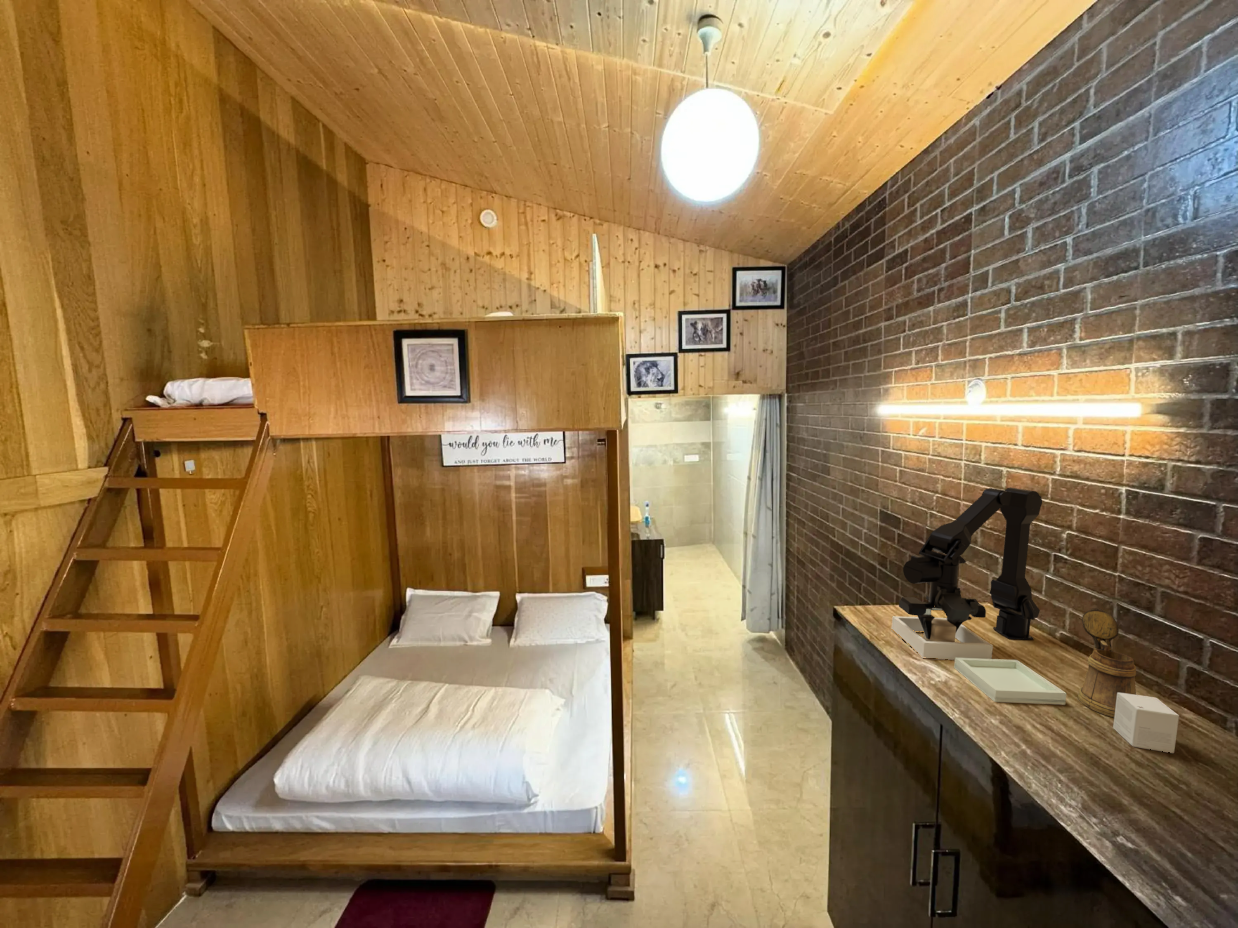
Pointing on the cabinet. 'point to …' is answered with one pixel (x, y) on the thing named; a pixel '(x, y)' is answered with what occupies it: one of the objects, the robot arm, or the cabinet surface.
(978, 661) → the sage tray
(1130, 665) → the wooden mug
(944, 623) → the birch block
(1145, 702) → the product box
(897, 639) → the cabinet surface
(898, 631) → the white square frame
